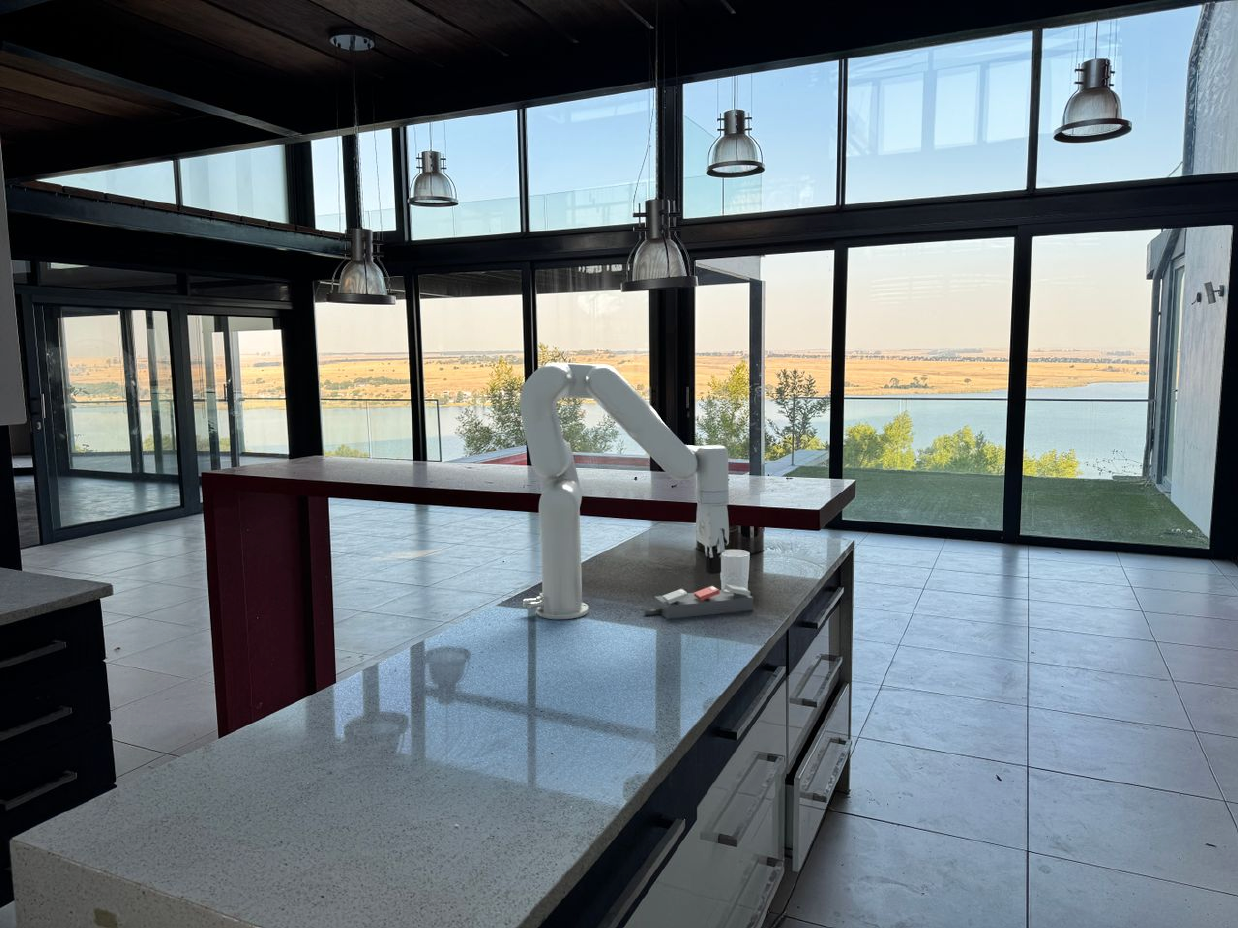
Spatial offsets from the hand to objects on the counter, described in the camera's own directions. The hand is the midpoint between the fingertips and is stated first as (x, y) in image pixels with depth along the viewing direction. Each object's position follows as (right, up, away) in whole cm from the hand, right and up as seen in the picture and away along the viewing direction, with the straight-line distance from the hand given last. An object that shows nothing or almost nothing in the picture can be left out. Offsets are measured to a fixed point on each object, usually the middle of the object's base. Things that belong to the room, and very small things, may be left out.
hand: (713, 572), depth 206 cm
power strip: (-4, -9, +2) cm, 10 cm away
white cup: (+8, -7, +19) cm, 22 cm away
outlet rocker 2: (-2, -5, 0) cm, 5 cm away
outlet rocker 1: (-9, -5, -2) cm, 11 cm away
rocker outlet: (+6, -5, +2) cm, 8 cm away
